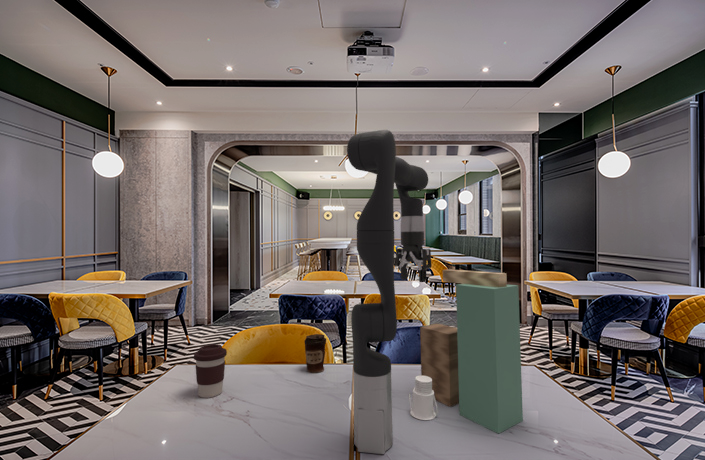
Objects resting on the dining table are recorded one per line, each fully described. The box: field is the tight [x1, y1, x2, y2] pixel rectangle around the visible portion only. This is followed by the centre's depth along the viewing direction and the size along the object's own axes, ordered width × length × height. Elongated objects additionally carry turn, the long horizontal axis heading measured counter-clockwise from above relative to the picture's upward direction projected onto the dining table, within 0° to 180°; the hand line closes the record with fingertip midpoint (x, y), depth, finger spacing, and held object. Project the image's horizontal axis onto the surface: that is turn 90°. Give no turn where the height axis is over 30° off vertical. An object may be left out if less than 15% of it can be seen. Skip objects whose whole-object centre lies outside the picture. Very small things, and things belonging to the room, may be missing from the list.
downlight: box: [408, 375, 439, 421], centre depth 97 cm, size 8×7×10 cm
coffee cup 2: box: [304, 333, 327, 374], centre depth 133 cm, size 9×8×13 cm
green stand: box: [455, 283, 524, 434], centre depth 96 cm, size 12×11×36 cm
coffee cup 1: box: [193, 343, 228, 399], centre depth 113 cm, size 10×10×15 cm
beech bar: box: [442, 269, 508, 287], centre depth 100 cm, size 19×4×4 cm, turn 34°
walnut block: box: [419, 322, 459, 408], centre depth 109 cm, size 12×8×21 cm
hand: (413, 280), depth 112 cm, fingers open, 8 cm apart
